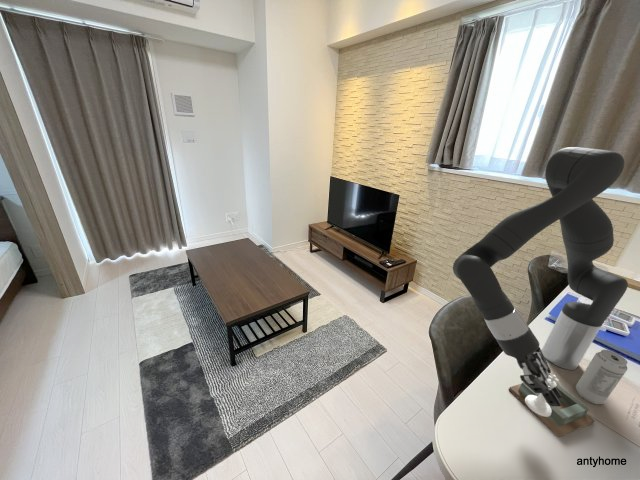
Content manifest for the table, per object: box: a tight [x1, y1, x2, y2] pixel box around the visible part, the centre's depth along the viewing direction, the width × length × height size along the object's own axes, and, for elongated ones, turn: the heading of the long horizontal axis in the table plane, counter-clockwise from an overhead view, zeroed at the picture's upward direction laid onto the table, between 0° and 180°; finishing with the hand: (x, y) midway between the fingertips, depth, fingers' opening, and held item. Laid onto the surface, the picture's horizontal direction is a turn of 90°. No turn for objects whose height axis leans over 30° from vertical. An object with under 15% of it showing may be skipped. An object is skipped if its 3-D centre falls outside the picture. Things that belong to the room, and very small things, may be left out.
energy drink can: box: [575, 349, 628, 405], centre depth 71 cm, size 6×6×15 cm
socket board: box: [508, 381, 595, 438], centre depth 69 cm, size 13×13×4 cm
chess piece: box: [525, 374, 559, 417], centre depth 59 cm, size 5×5×10 cm
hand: (555, 400), depth 58 cm, fingers closed on chess piece
